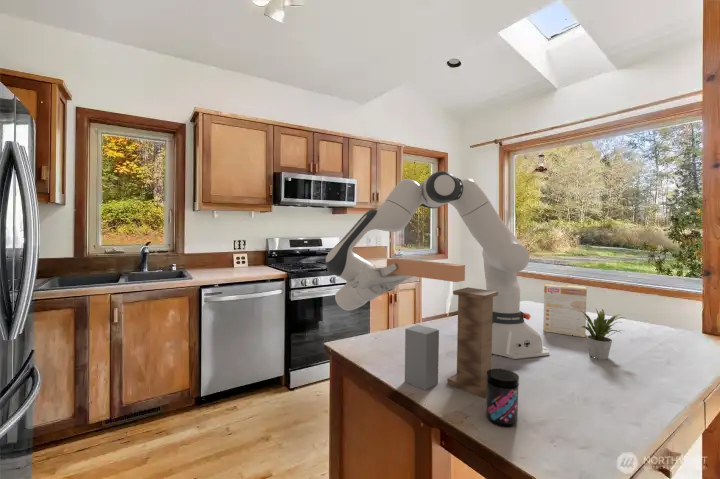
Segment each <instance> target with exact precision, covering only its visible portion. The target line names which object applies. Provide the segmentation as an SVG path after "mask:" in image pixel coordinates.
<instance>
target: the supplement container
mask: <svg viewBox="0 0 720 479" xmlns="http://www.w3.org/2000/svg"><path fill="white" fill-rule="evenodd" d="M519 382H520V377H519V375H518V374H517V373H516V372H514V371H512V370H509V369H505V368H491V369H490V370H488V371H487V393H486V402H485V405H486V406H485V416H486V419H487V420H488V421H489V422H490V423H492V424H493V425H496V426H498V427H503V428H511V427H515V425H516V424H518V420H519V419H518V418H519V417H518V415H519V388H520V387H519V386H520V383H519Z"/></svg>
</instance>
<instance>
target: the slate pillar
mask: <svg viewBox="0 0 720 479" xmlns="http://www.w3.org/2000/svg"><path fill="white" fill-rule="evenodd" d="M404 331H405V335H404V339H405V340H404V383H407V384H409V385H411V386H414V387H416V388H419V389H422V390H425V391H427V390H429V389H430V388H432V387H433V386H435V385H437V384H439V350H440V349H439V348H440V346H439V345H440V341H439V340H440V329H437V328H435V327H430V326H426V325H421V324H415V325H413V326H410V327H407V328H405V329H404Z"/></svg>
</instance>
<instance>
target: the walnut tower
mask: <svg viewBox="0 0 720 479" xmlns="http://www.w3.org/2000/svg"><path fill="white" fill-rule="evenodd" d="M452 295H454V296H457V297H458V298H457V299H458V300H457V337H456V338H457V341H456V342H457V343H456V345H457V346H456V351H457V352H456V373H455V374H453V375H451V376H449V377H448V378H446V379H447V385H449V386H452V387H454V388H458V389H461V390H463V391H466V392H467V393H468V392H469V393H471V394H474V395H476V396H479V397H482V398H486V393H487V371H488V370H490V369H492V355H493V354H492V316H493V297H495V296H498V292H497V291H490V290H486V289H481V288H474V287H463V288H459V289H455V290H453V291H452Z"/></svg>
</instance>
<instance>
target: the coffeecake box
mask: <svg viewBox="0 0 720 479" xmlns="http://www.w3.org/2000/svg"><path fill="white" fill-rule="evenodd" d="M543 292H544V293H543V294H544V295H543V324H542V325H543V326H542V327H543V332H545V333H546V332H547V333H552V334H560V335H565V336H566V335H567V336H572V335H573V336H574V337H579V338H580V337H581V338H586V330H587V329H585V328H581V327H582V326H586V327H587V320H586V319H587V318H586V316H585V315H584V314H583V313H582V312H581V311H583V312H584V313H585V314H587V286H581V285H571V284H570V285H568V284H556V283H545V285H544V290H543ZM582 315H583V316H584V317H583V316H582ZM573 336H572V337H573Z"/></svg>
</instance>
